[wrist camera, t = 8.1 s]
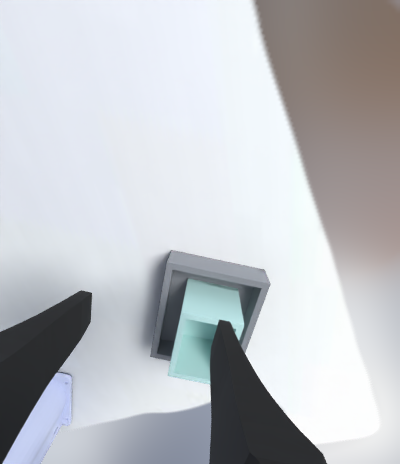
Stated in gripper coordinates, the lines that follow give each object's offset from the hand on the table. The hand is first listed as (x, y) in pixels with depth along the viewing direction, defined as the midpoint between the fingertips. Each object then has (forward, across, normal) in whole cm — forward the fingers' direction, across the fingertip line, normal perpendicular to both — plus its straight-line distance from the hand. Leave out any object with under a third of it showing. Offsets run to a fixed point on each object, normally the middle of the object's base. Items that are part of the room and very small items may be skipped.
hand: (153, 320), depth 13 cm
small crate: (+9, -4, +6) cm, 12 cm away
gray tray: (+10, -4, +6) cm, 12 cm away
